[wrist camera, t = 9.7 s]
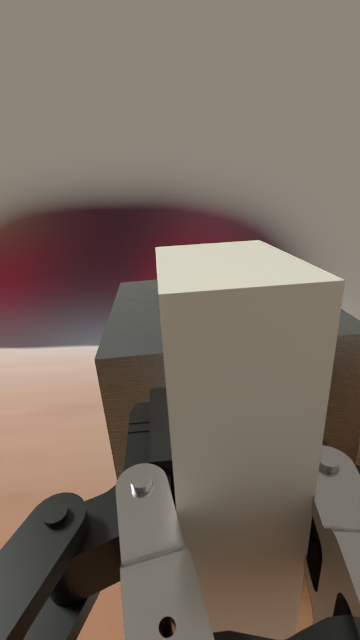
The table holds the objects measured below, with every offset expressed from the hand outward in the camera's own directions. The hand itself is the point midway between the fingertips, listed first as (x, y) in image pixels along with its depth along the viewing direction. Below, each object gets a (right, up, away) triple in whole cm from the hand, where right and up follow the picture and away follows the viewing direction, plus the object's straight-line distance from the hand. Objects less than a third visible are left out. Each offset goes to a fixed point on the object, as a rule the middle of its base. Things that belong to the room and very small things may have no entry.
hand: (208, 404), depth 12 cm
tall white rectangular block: (+1, -8, 0) cm, 9 cm away
